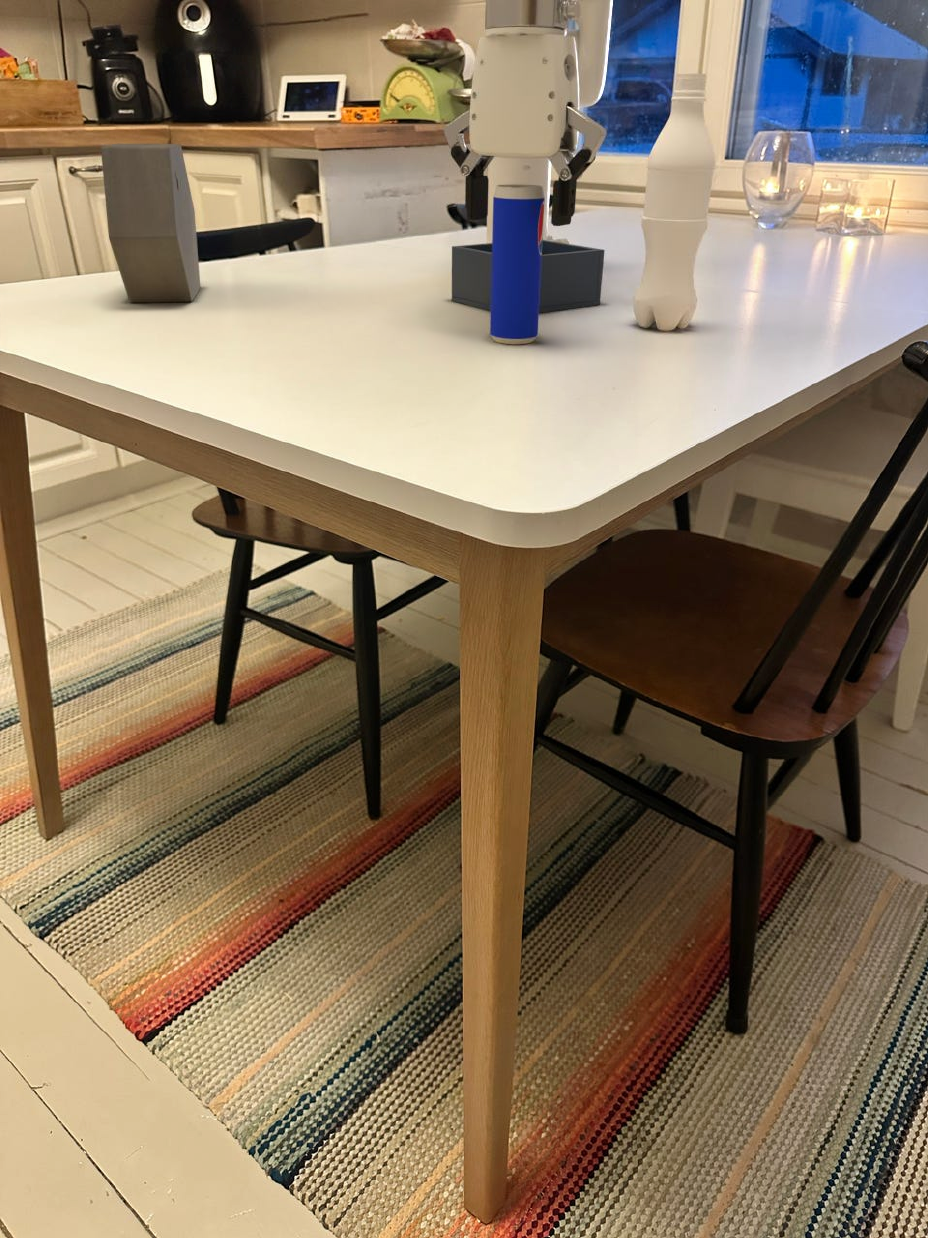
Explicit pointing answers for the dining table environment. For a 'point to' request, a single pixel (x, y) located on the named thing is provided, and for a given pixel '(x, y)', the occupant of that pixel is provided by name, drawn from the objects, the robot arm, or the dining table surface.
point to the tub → (564, 276)
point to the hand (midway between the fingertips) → (518, 221)
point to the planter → (151, 221)
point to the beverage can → (516, 263)
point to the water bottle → (675, 210)
